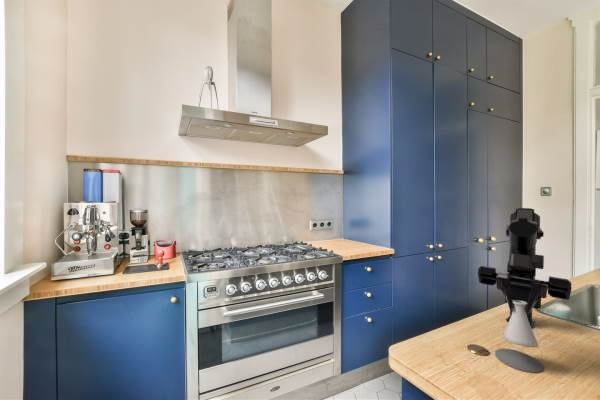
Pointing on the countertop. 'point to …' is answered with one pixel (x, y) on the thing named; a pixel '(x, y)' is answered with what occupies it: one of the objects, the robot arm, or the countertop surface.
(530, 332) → the flask
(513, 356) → the rubber mat
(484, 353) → the bronze token
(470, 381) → the countertop surface
